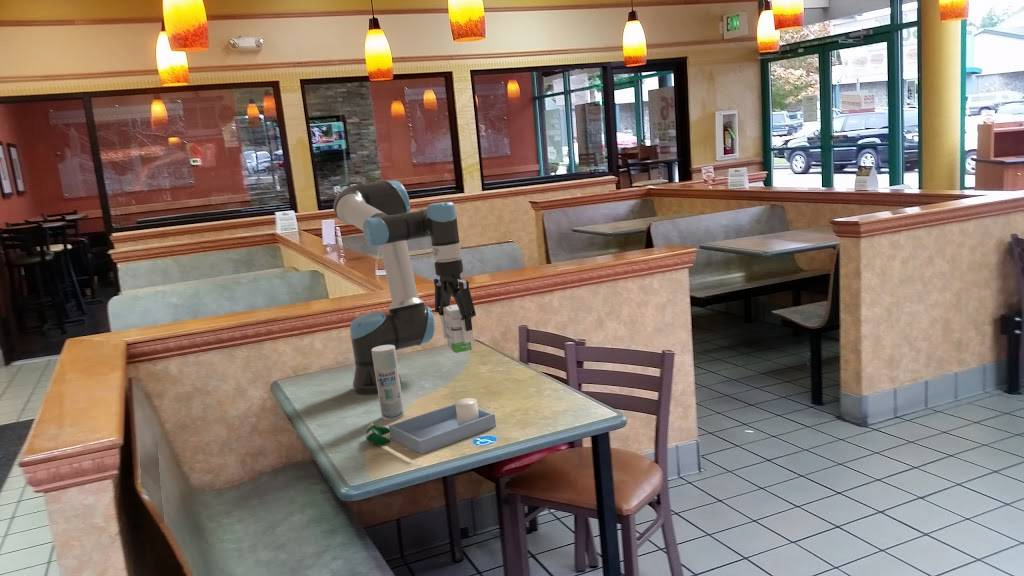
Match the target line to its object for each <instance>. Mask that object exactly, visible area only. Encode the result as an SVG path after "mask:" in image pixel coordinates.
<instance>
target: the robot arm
mask: <svg viewBox="0 0 1024 576" xmlns="http://www.w3.org/2000/svg"><path fill="white" fill-rule="evenodd" d="M410 205H411V201H410V197H409V194H408V192H407V190H406V188H405V187H404V184H402V183H401V182H400V181H398V180H384V181H375V182H369V183H368V182H367V183H361V184H354V185H350V186H348V187H346V188H344V189H343V190H341V191H340V192H339V193H338V194H337V195H336V197H335V199H334V201H333V212H334V214H335V216H336V218H337V219H338V220H339V221H341V222H342V223H343V224H346V225H350V226H355V227H356V228H358V229H359V230H361V231H362V232H363V236H364V240H365V241H366V243H367V245H369V246H371V247H373V246H379V247H380V252H381V256H382V261H383V264H384V265H383V266H384V271H385V274H386V275H385V276H386V280H387V284H388V289H389V294H390V299H391V305H390V306H389V307H388V313H389V314H386V312H385V311H375V312H369V313H365V314H363V315H360V316H358V317H356V318H354V319H353V320H352V321H351V322H350V324H349V331H350V335H349V337H350V339H351V344H352V351H353V359H354V364H355V368H354V374H353V380H352V390H353V392H354V393H355V394H359V395H376V394H378V389H377V383H376V376H375V370H374V364H373V358H372V351H371V350H372V349H373V348H375V347H377V346H382V345H394V346H395V350H396V351H399V350H403V349H407V348H412V347H417V346H421V345H424V344H426V343H429V342H430V341H432V339H433V338H434V334H435V325H436V324H435V323H436V322H435V317H434V313H433V310H432V309H431V307H429V306H428V305H427V306H426V305H425V301H424V300H422V299H421V298H419V295H418V290H417V286H416V284H417V283H416V280H415V275H414V270H413V267H412V261H411V256H410V252H409V247H408V242H407V241H411V240H416V239H417V240H418V239H425V238H429V237H430V240H431V241H430V242H431V246H432V253H433V259H434V260H435V261H434V270H435V275H436V276H438V277H437V278H434V279H433V284H434V311H435V313H438V314H439V316H440V320H441V326H442V334H443V335H442V336H443V339H445V340H447V333H446V326H445V318H444V311H443V307H445V306H451V305H450V304H451V297H452V298H454V301H455V302H456V305H457V306H458V308H459V311H460V313H461V315H462V318H461V325H462V332H463V340H464V343H468V342H471V343H472V342H474V334H473V322H472V319H473V317H476V316H477V314H476V310H475V305H474V303H473V302H474V301H473V298H472V295H471V292H470V291H471V290H470V283H469V282H470V281H469V280H467V279H466V280H462V277H461V274H462V273H463V272H464V265H463V260H462V249H461V241H460V236H459V227H458V218H457V217H458V214H457V211H456V206H455V203H454V202H452V201H441V202H434V203H429V204H428V205H427V206H426V207H427V208H424V209H419V210H417V211H411V206H410ZM465 314H466V315H465ZM399 379H400V386H401V384H402V378H401V375H400V374H399Z"/></svg>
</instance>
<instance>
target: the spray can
mask: <svg viewBox="0 0 1024 576" xmlns="http://www.w3.org/2000/svg"><path fill="white" fill-rule="evenodd" d="M371 351H372V358H373V364H374V370H375V376H376V383H377V389H378V393H377V394H378V395H377V396H378V400H379V407H380V413H381V418H383V419H382V420H384V421H387V422H390V421H391V422H392V421H397V420H401V419H402V418H404V416H405V410H404V401H403V394H402V386H401V385H400V379H399V375H400V372H399V365H398V359H397V358H398V357H397V350H395V346H394V345H382V346H377V347H375V348H373V349H372V350H371Z"/></svg>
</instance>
